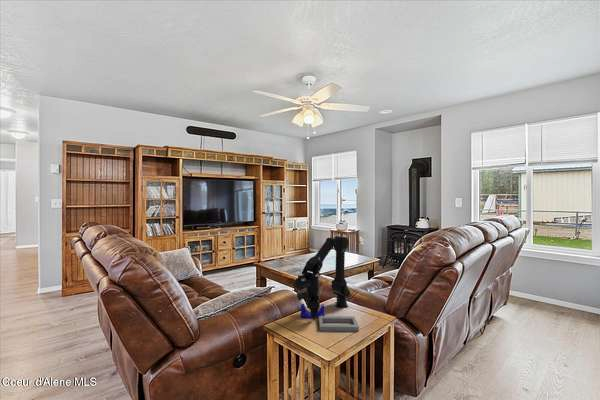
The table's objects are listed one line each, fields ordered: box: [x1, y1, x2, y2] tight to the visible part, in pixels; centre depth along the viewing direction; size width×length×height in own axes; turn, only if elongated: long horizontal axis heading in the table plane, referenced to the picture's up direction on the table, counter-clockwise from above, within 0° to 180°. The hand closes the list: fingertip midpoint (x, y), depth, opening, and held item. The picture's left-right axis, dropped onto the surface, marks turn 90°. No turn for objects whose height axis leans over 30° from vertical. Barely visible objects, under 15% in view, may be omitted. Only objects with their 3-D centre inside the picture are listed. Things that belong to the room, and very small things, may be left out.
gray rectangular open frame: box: [318, 315, 360, 332], centre depth 142 cm, size 12×18×2 cm, turn 89°
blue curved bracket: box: [300, 303, 325, 320], centre depth 152 cm, size 12×4×6 cm, turn 86°
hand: (312, 315), depth 151 cm, fingers open, 8 cm apart
